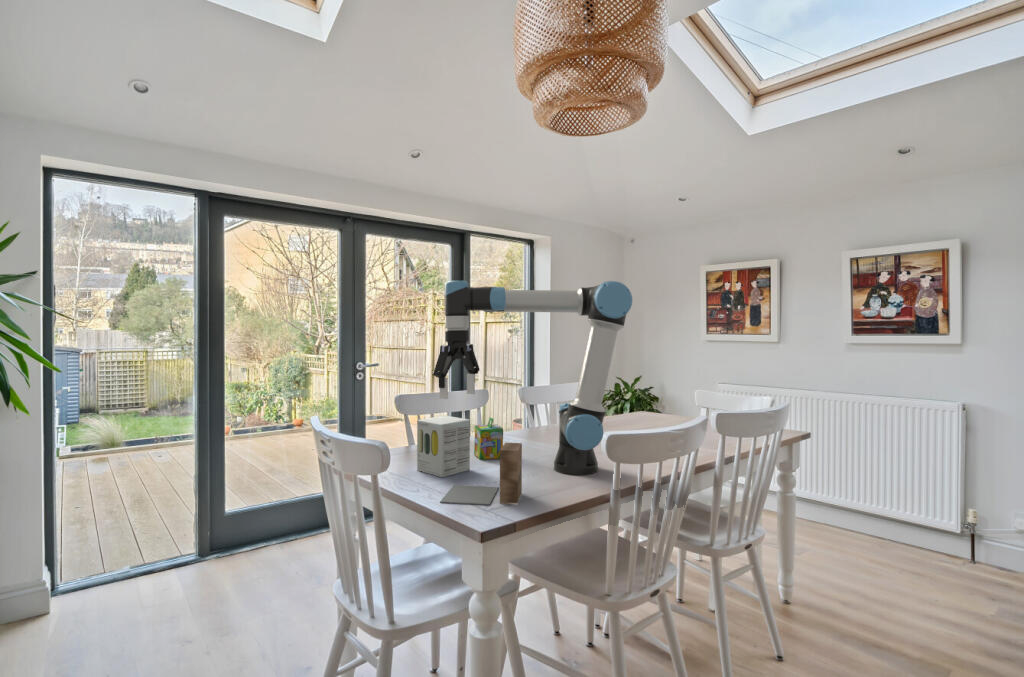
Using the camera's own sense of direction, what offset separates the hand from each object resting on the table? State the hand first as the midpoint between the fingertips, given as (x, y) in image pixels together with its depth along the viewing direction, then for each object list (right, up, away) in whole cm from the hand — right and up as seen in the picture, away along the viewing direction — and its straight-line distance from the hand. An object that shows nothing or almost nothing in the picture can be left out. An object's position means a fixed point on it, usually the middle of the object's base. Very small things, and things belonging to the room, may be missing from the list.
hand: (457, 396), depth 174 cm
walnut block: (+17, -28, -18) cm, 37 cm away
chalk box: (+8, -27, +32) cm, 42 cm away
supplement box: (-6, -27, +13) cm, 30 cm away
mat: (+5, -27, -15) cm, 32 cm away
